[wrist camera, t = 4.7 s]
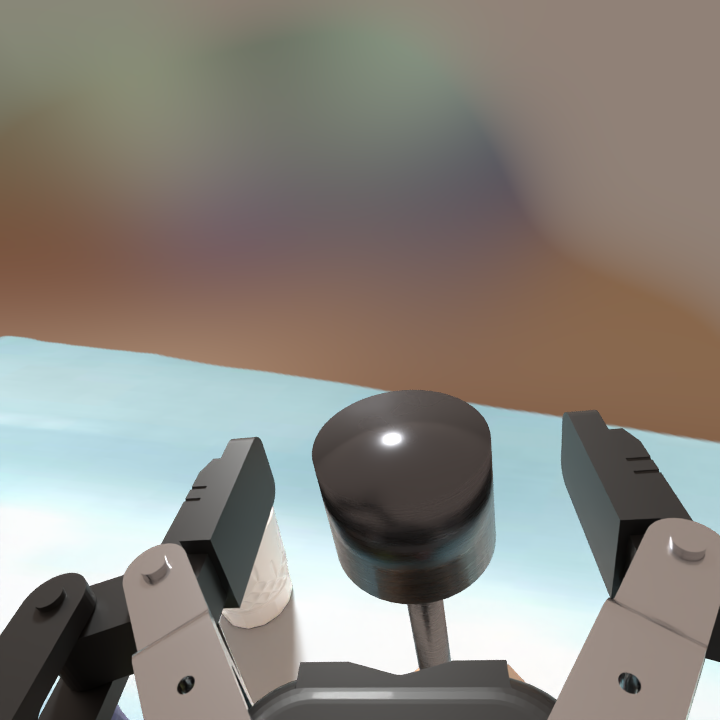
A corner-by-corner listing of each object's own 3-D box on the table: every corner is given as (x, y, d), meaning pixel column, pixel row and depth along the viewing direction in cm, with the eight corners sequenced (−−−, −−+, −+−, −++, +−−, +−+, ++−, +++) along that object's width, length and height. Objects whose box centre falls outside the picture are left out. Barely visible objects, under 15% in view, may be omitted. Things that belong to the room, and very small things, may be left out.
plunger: (459, 1015, 18) (353, 629, 7) (365, 828, 23) (221, 437, 12) (575, 875, 21) (620, 439, 10) (467, 734, 26) (421, 344, 15)
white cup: (315, 587, 47) (291, 510, 42) (248, 654, 42) (212, 575, 37) (265, 548, 52) (239, 475, 47) (200, 603, 47) (164, 529, 42)
